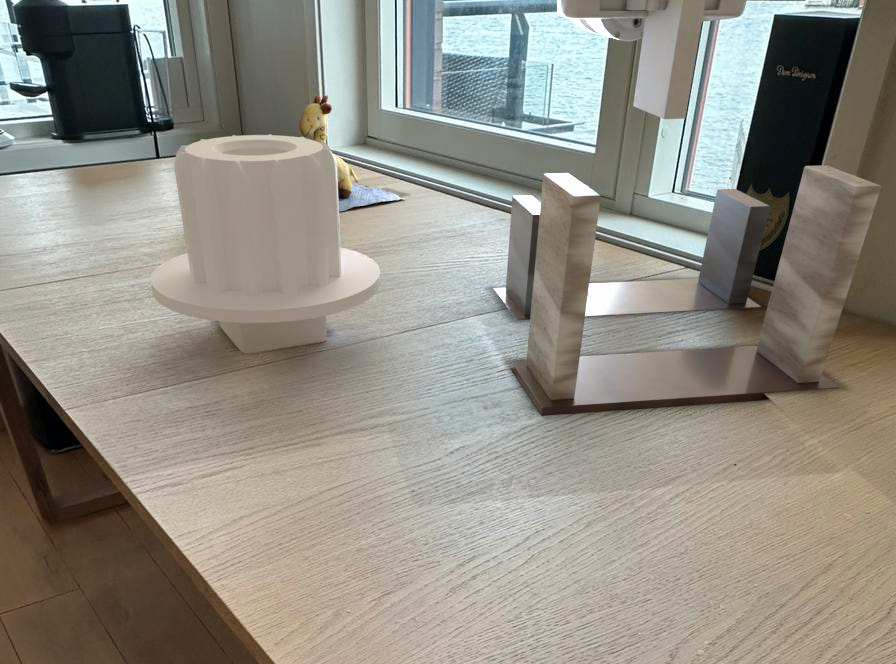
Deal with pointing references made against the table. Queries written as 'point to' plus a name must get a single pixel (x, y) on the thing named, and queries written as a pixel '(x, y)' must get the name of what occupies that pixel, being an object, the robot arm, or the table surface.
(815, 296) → the marble pillar rack
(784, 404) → the table surface
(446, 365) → the table surface
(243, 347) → the flanged gear
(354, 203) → the stuffed giraffe
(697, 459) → the table surface
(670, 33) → the white rectangular block
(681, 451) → the table surface
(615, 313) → the grey stand
